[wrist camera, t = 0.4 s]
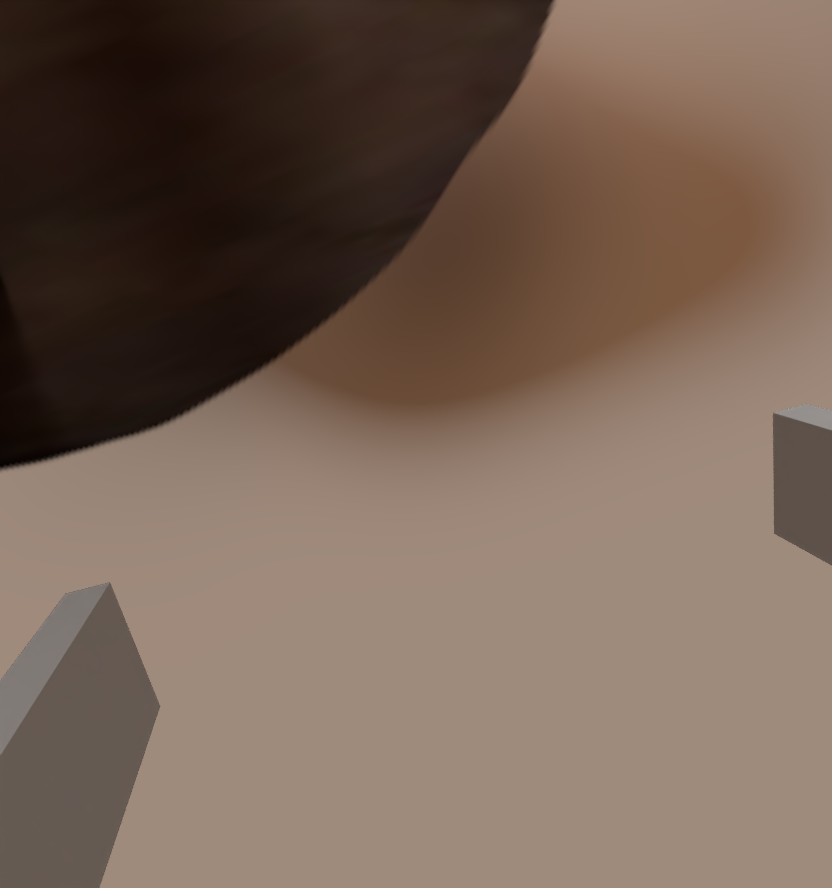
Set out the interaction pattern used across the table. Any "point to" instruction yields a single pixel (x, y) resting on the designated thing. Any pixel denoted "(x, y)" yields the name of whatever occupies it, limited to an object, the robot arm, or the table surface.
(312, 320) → the table surface
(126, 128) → the table surface
